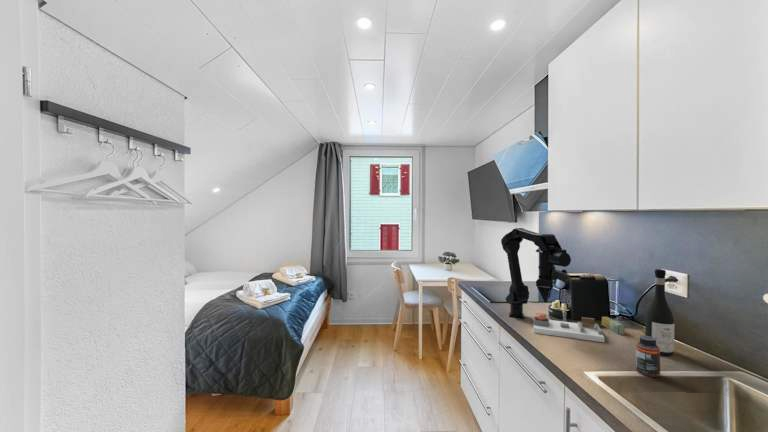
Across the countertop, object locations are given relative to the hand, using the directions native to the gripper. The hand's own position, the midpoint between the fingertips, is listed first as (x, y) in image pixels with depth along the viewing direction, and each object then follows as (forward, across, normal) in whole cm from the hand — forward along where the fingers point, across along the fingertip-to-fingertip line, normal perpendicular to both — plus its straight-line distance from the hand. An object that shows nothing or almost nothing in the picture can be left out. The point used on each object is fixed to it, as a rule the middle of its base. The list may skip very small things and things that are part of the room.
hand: (547, 300), depth 139 cm
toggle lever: (+9, +4, -6) cm, 12 cm away
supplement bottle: (+14, -23, -31) cm, 41 cm away
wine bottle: (+14, -1, -37) cm, 39 cm away
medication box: (+14, +17, -24) cm, 32 cm away
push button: (+9, +2, +3) cm, 10 cm away
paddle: (+11, +8, -15) cm, 20 cm away
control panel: (+13, +4, -7) cm, 15 cm away
